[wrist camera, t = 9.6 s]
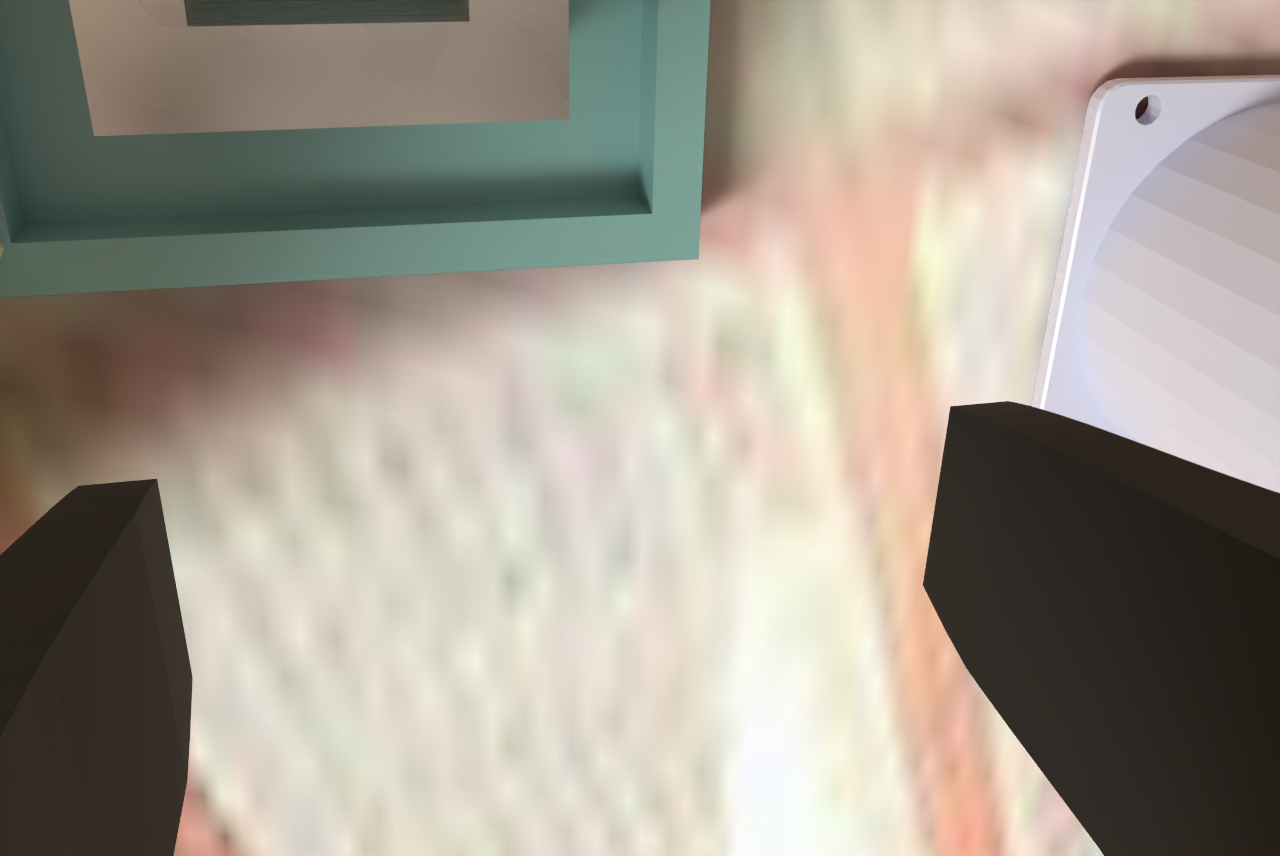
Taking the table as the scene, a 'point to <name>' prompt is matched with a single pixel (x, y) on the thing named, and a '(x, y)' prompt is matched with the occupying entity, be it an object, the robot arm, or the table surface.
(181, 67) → the hollow square block
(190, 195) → the tray
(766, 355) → the table surface
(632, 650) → the table surface
